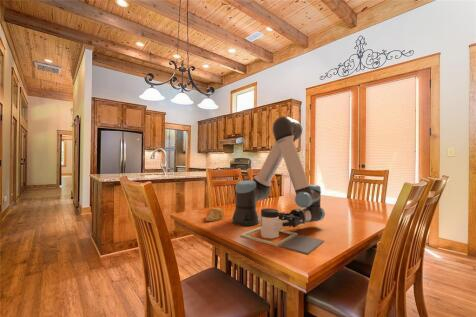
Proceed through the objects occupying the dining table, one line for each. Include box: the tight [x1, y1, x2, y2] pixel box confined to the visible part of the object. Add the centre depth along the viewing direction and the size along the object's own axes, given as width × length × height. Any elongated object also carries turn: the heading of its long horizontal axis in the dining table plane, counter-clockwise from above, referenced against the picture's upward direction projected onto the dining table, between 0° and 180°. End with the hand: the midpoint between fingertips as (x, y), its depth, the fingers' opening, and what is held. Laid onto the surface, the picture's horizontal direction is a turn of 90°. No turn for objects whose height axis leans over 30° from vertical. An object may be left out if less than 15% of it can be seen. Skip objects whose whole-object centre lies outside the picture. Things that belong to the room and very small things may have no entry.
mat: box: [279, 234, 325, 255], centre depth 97 cm, size 12×18×1 cm, turn 141°
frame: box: [240, 226, 298, 248], centre depth 108 cm, size 19×19×1 cm
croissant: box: [205, 206, 225, 222], centre depth 139 cm, size 21×10×8 cm, turn 161°
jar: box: [259, 208, 280, 240], centre depth 108 cm, size 9×8×12 cm
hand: (266, 221), depth 107 cm, fingers open, 13 cm apart
